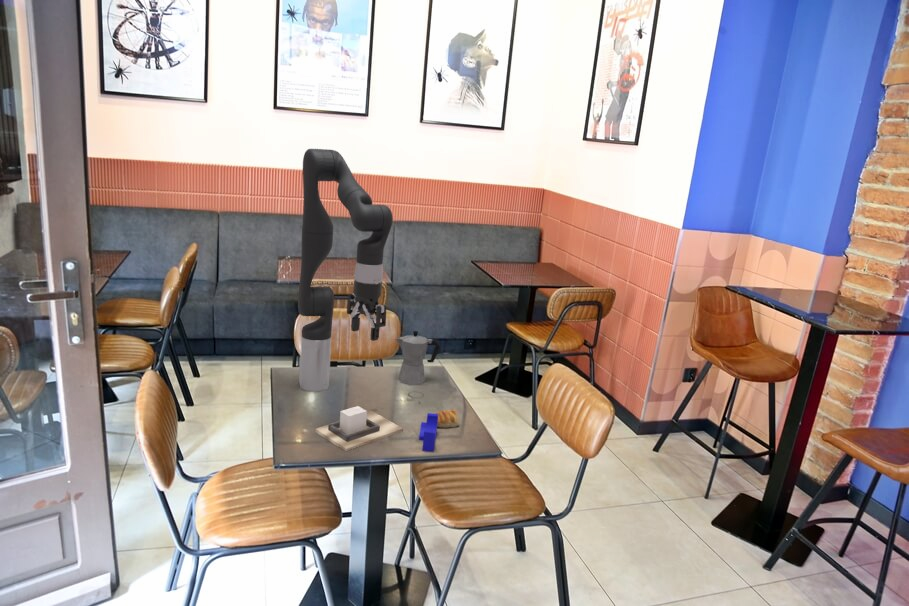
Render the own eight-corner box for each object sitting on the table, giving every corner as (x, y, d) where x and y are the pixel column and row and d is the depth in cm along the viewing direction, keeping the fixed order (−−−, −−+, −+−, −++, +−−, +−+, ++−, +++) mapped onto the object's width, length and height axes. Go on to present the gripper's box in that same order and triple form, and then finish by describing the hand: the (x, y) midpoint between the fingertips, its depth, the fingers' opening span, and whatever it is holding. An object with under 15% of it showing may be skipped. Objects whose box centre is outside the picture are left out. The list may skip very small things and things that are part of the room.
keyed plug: (339, 431, 172) (340, 411, 171) (360, 424, 178) (361, 405, 176) (348, 436, 170) (349, 416, 168) (368, 429, 175) (370, 410, 173)
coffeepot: (390, 383, 211) (394, 333, 207) (394, 373, 220) (398, 325, 216) (435, 388, 211) (440, 337, 206) (437, 378, 220) (442, 329, 215)
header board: (315, 431, 173) (315, 423, 172) (371, 414, 187) (372, 406, 186) (345, 452, 164) (346, 443, 163) (402, 431, 178) (403, 423, 177)
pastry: (431, 430, 180) (432, 418, 179) (422, 420, 185) (423, 408, 184) (460, 426, 184) (462, 415, 183) (451, 416, 189) (452, 405, 188)
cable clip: (420, 431, 179) (422, 412, 178) (436, 433, 179) (438, 414, 178) (416, 451, 168) (418, 431, 166) (433, 453, 168) (435, 433, 166)
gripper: (341, 273, 170) (338, 330, 175) (374, 286, 161) (369, 345, 166) (363, 271, 176) (359, 325, 180) (396, 283, 167) (391, 340, 171)
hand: (364, 335), depth 173 cm, fingers open, 8 cm apart
